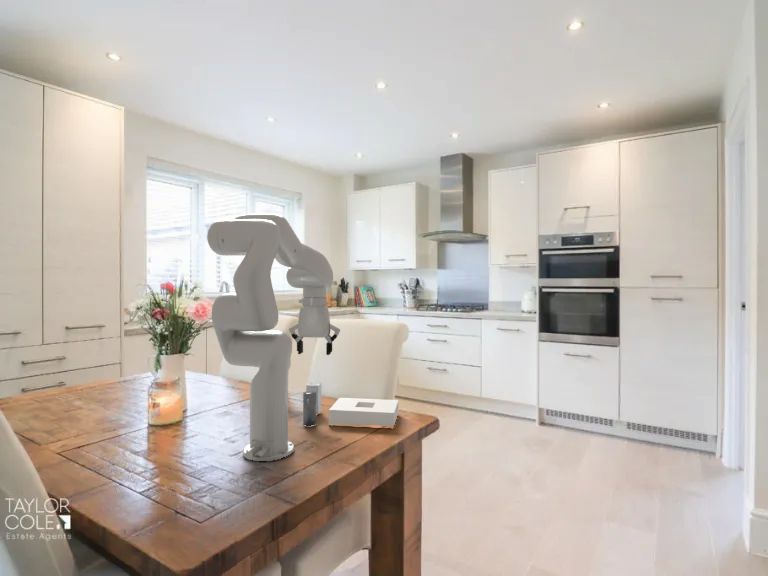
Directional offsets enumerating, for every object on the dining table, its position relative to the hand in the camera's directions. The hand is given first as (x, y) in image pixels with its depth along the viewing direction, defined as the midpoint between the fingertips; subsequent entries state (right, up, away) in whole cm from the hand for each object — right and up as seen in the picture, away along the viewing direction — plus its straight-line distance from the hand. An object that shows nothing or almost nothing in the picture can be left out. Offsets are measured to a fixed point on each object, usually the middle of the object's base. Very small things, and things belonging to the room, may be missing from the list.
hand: (314, 353), depth 144 cm
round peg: (0, -20, -11) cm, 23 cm away
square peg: (0, -20, 0) cm, 20 cm away
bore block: (+17, -20, -6) cm, 27 cm away
